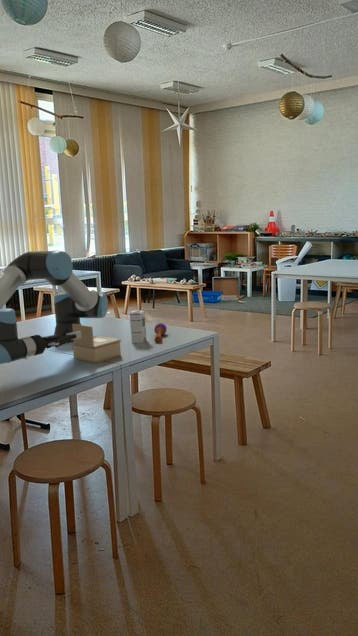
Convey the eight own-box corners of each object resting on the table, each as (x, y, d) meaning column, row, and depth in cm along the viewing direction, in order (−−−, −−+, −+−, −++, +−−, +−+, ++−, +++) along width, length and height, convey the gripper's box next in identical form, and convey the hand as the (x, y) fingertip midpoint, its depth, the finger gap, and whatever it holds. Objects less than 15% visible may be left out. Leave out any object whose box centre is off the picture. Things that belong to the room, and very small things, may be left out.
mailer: (73, 358, 241) (72, 344, 240) (98, 351, 252) (97, 338, 251) (95, 363, 232) (94, 349, 231) (120, 355, 243) (119, 342, 241)
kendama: (150, 335, 263) (153, 323, 282) (153, 347, 264) (156, 334, 283) (162, 332, 262) (165, 320, 281) (165, 344, 264) (168, 331, 283)
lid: (71, 344, 240) (69, 323, 238) (97, 337, 251) (96, 317, 249) (94, 348, 231) (92, 327, 229) (120, 341, 241) (119, 320, 240)
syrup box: (143, 343, 264) (141, 312, 261) (131, 343, 265) (129, 312, 263) (146, 340, 270) (144, 310, 267) (134, 340, 271) (132, 310, 268)
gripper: (22, 353, 220) (70, 341, 238) (42, 358, 212) (91, 345, 229) (20, 334, 219) (69, 323, 236) (40, 338, 211) (89, 326, 228)
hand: (80, 334), depth 233 cm, fingers closed
